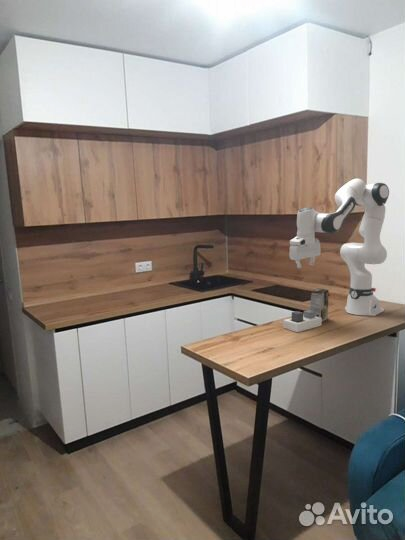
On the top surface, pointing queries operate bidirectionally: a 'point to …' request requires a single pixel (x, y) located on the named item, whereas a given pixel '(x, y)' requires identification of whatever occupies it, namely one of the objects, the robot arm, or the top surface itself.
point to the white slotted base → (307, 323)
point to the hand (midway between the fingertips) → (305, 266)
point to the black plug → (297, 316)
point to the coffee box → (319, 303)
